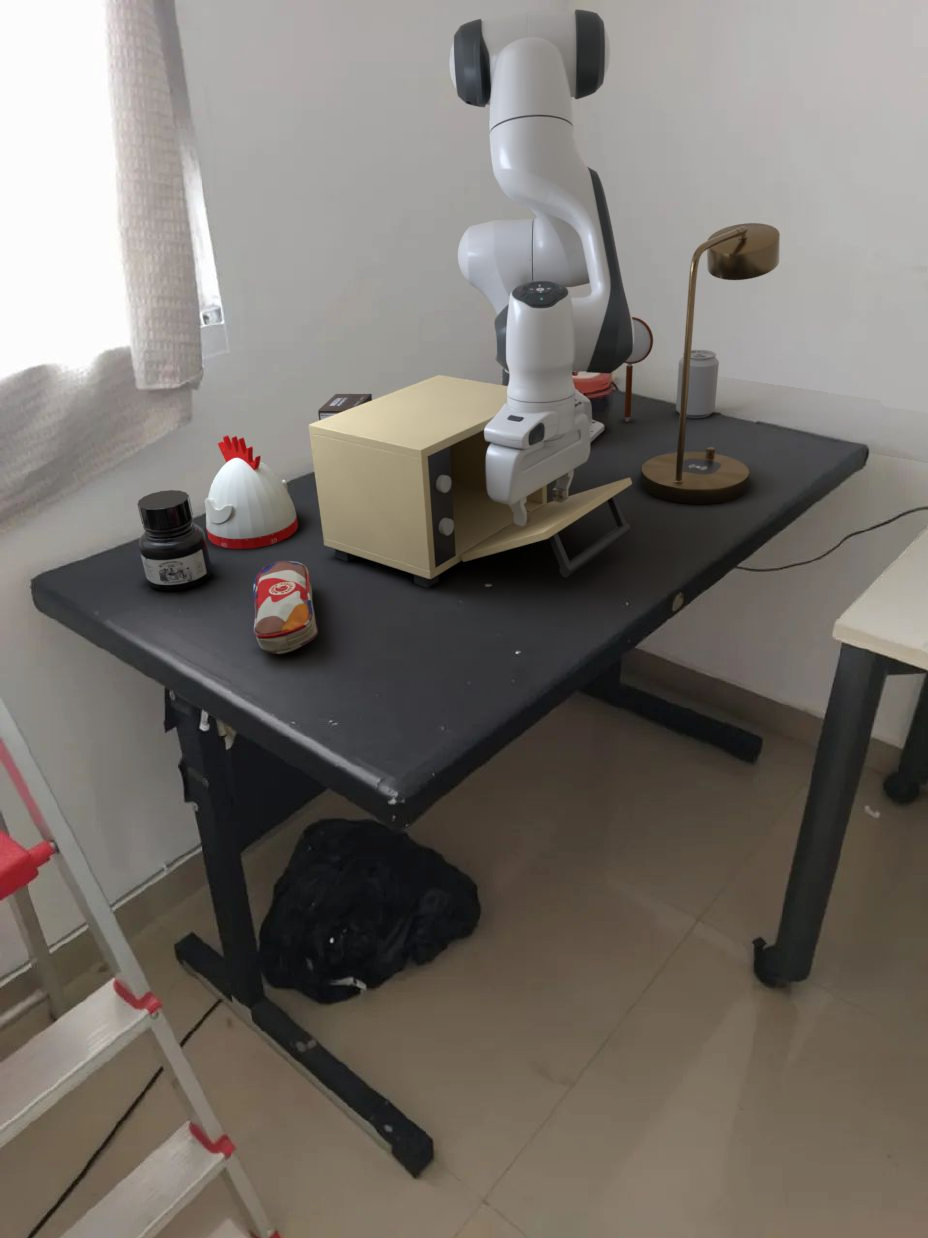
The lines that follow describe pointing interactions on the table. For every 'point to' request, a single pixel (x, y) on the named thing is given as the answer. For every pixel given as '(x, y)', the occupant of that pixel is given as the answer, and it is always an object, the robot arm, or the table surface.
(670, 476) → the lamp
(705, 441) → the table surface
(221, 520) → the kitchen timer
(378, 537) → the oven
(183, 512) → the ink bottle
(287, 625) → the pencil case
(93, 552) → the table surface
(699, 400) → the can
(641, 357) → the magnifying glass
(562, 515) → the oven door
